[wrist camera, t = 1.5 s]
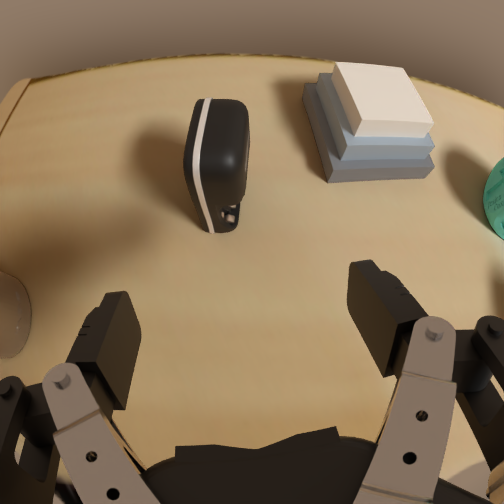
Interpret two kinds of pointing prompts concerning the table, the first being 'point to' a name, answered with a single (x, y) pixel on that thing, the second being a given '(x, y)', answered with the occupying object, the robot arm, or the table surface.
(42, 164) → the table surface
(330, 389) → the table surface
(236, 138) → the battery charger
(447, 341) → the robot arm
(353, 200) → the table surface
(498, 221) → the decorative dice
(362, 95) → the block tower
